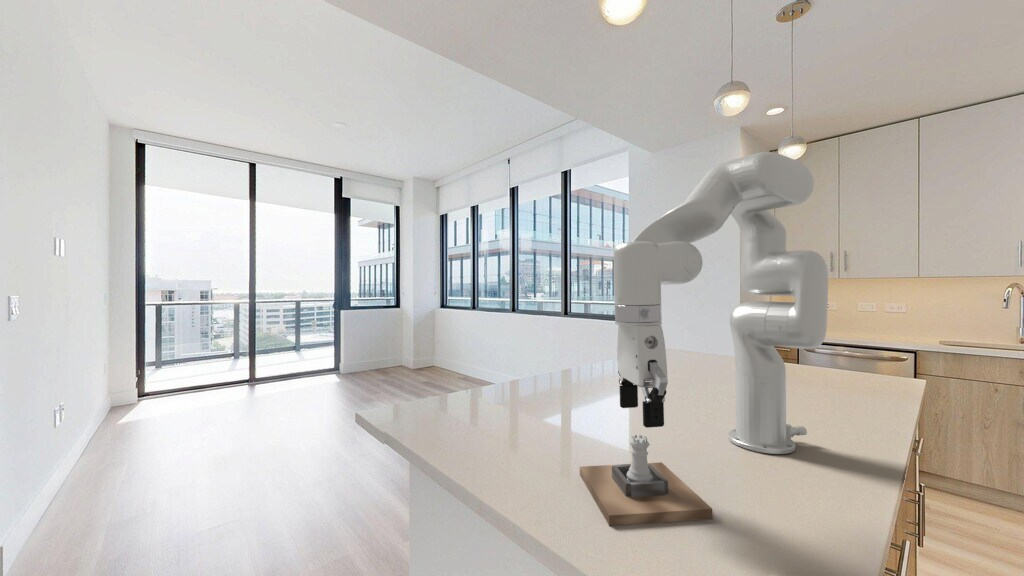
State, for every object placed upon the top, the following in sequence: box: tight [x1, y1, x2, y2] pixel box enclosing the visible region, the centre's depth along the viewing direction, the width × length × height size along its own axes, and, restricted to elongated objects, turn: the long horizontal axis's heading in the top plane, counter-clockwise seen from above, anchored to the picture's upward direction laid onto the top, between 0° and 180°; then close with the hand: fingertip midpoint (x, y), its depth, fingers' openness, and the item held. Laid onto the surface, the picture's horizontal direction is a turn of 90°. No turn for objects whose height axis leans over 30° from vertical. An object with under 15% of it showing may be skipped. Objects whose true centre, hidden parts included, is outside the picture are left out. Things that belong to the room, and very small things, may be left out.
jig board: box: [579, 461, 714, 527], centre depth 66 cm, size 16×16×4 cm
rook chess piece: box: [626, 434, 653, 482], centre depth 66 cm, size 4×4×8 cm
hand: (640, 416), depth 66 cm, fingers open, 9 cm apart
